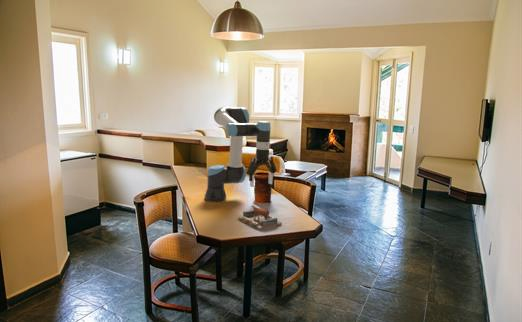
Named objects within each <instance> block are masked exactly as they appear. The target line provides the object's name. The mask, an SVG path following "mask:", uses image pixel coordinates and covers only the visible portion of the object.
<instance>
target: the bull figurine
mask: <svg viewBox="0 0 522 322" xmlns="http://www.w3.org/2000/svg"><path fill="white" fill-rule="evenodd" d="M251 208H252V210H253V209H254V213H255V217H254V219H256V215H258V219H259V218H260V217H259V216H261V217H263V216H264V218H265V219H264V220H266V219H268V218H269V215H270V211H269V210H268V209H265V208H261V207H260V206H259V205H258V204H257V205H256V203H255V204H253V205H251Z"/></svg>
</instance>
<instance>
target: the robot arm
mask: <svg viewBox="0 0 522 322" xmlns="http://www.w3.org/2000/svg"><path fill="white" fill-rule="evenodd" d="M213 119H214V121H215V123H217V125H219V126H222V127H223V128H224V129H225V133H226V135H227V136H228V137H230V140H229V141H230V144H229V160H228V161H229V162H228V163H227V164H226V166H225V165H223V164H214V165H211V166H209V167H208V168H207V173H206V175H207V178H206V179H207V184H206V186H207V187H206V190H205V193H204V200H206V201H209V202H223V201H225V200H227V194H226V190H225V185H226V184H227V185H228V184H240V183H244V181H245V180H246V176H247V175H248V181H249V187H251V188H254V186H255V179H254V176H253V174H254V173H255V172H256V171H257V170H258V169H259V167H260V166H265V167H266V168H267V170H268V173H269V181H268V183H269V184H271V185H273V180H274V178H273V175H274V176H275V173H276V172H277V170H278V169H277V167H276V165H275V162H274V157H273V156H271V155H270V144H271V128H272V127H271V122H270V121H266V120H264V121H263V120H260V121H257V122H252V123H250V114H249V110H248V109H247V108H246V107H242V106H222V107H220V108H218V109H217V110H216V111H215V112H214V114H213ZM244 137H256V144H255V147H256V150H255V155H256V158H255V157H251V159H250V163H249V166H248V168H247V170H246V167H245V166H244V164H243V163H242V161H243V158H242V157H243V143H244V142H243V141H244Z"/></svg>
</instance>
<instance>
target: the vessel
mask: <svg viewBox="0 0 522 322" xmlns="http://www.w3.org/2000/svg"><path fill="white" fill-rule="evenodd" d="M253 176H254V187H253V193H254V199H253V202H254V203H255V204H257V205H258V204H259V205H270V204H271V203H272V202H273V201H272V184H269V183H268V181H269V171H257V172H256V171H255V173H254V174H253ZM274 177H275V174H274V175H273V179H274Z"/></svg>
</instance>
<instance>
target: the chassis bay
mask: <svg viewBox="0 0 522 322" xmlns="http://www.w3.org/2000/svg"><path fill="white" fill-rule="evenodd" d="M242 214H243V215H242V216H241V215H240V216H238V219H237V220H239V221H241V222H243V223H244V224H246V225H248V226H251V228H252V227H253V229H256V230H258V231H263V230H264V231H265V230H267V229H272V228H276V227H279V226H282V225H283V224H282V223H283V222H282V221H279V220H278V218H277V217H274V216H272V215H270V214H269V218H268V219H266V220H264V219H265V218H264V216H263V217H261V216H259V217H260V218H259V219H258V215H256V219H254V217H255V213H254V209H253V208H252V209H249V210H244V211H242Z"/></svg>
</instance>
